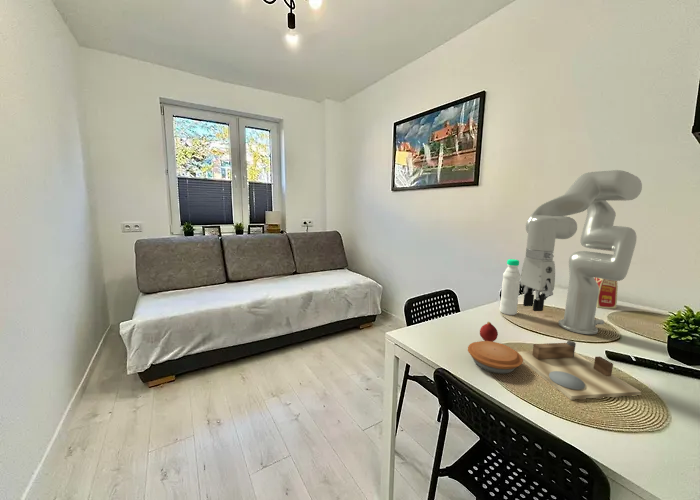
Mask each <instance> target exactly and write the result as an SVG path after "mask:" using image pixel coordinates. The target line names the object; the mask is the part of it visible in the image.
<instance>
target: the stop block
mask: <svg viewBox="0 0 700 500" xmlns="http://www.w3.org/2000/svg"><path fill="white" fill-rule="evenodd" d="M593 363H594V369H595V370H597V371H599V372H600V373H602V374H603V375H605V376H611V374H612V373H613V369H614V363H613V362H611V361H609V360H607V359H605V358H604V357H601V356H595V357H594V362H593ZM612 375H613V374H612Z"/></svg>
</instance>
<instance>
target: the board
mask: <svg viewBox="0 0 700 500" xmlns="http://www.w3.org/2000/svg"><path fill="white" fill-rule="evenodd" d="M517 352H518V353H519V354H520V355H521V356H522V358H523V362H522V363H523V364H525V365H526V366H527V367H529V368H530V369H531V370H532V371H533V372H535V374H537V375H539V376H540V377H541V378H543V379H544V380H545V381H546V382H548V383H549V385H551V386H553V387H554V388H555V389H556V390H558V392H560V393H561V394H563V396H565V397H567V398H568V399H569V400H570V401H576V400H575V399H580V400H587V399H586V398H596V399H604V398H603V397H613V398H620V397H619V396H629V397H633V396H632V395H641V396H642V391H641V390H639V389H637V388H636V387H634V386H633V385H631V384H629V383H627V382H626V381H624V380H622V379H620V378H619V377H617V376H616V375H614V374H611V376H605V375H603V374H602V373H600V372H599V371H597V370H595V369H594V362H592V361H590V360H589V359H587V358H586V357H583V356H582V355H580V354H578V353H577V352H576V351H575V352H574V357H570V358H548V359H537V358H536V357H534V356H533V355H532V353H533V350H529V351H527V350H525V351H517ZM553 371H561V372H565V373H569V374H571V375H574V376H576V377H578V378H579V379H581V380H582V381H583V382H584V384H585V388H584V389H582V390H572V389H568V388H565V387H562V386H560V385H558V384H556V383H554V382H553V381H552V380H551V379H550V378H549V373H550V372H553Z"/></svg>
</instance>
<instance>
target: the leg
mask: <svg viewBox="0 0 700 500" xmlns="http://www.w3.org/2000/svg"><path fill="white" fill-rule="evenodd" d="M576 344H577V343H576V342H575V341H572V340H567V341H566V342H556V343H555V342H554V343H553V342H550V343H533V347H532V351H533V353H532V355H533V356H534V357H536V358H537V359H548V358H570V357H574V352H575V353H576V351H575V350H576V346H577V345H576Z"/></svg>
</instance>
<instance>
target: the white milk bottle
mask: <svg viewBox="0 0 700 500" xmlns="http://www.w3.org/2000/svg"><path fill="white" fill-rule="evenodd" d="M506 265H507V267H506V268H505V270H504V272H503V273H502V283H501V296H500V299H499V300H500V301H499V302H500V305H499V312H500V313H502V314H504V315H508V316H515V315H517V313H518V312H517V311H518V303H519V299H518V298H519V294H520V286H521V284H520V280H521V273H520V270H519V269H518V267H519V266H520V261H519V260H518V259H515V258H514V259H513V258H510V259H507V261H506Z"/></svg>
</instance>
